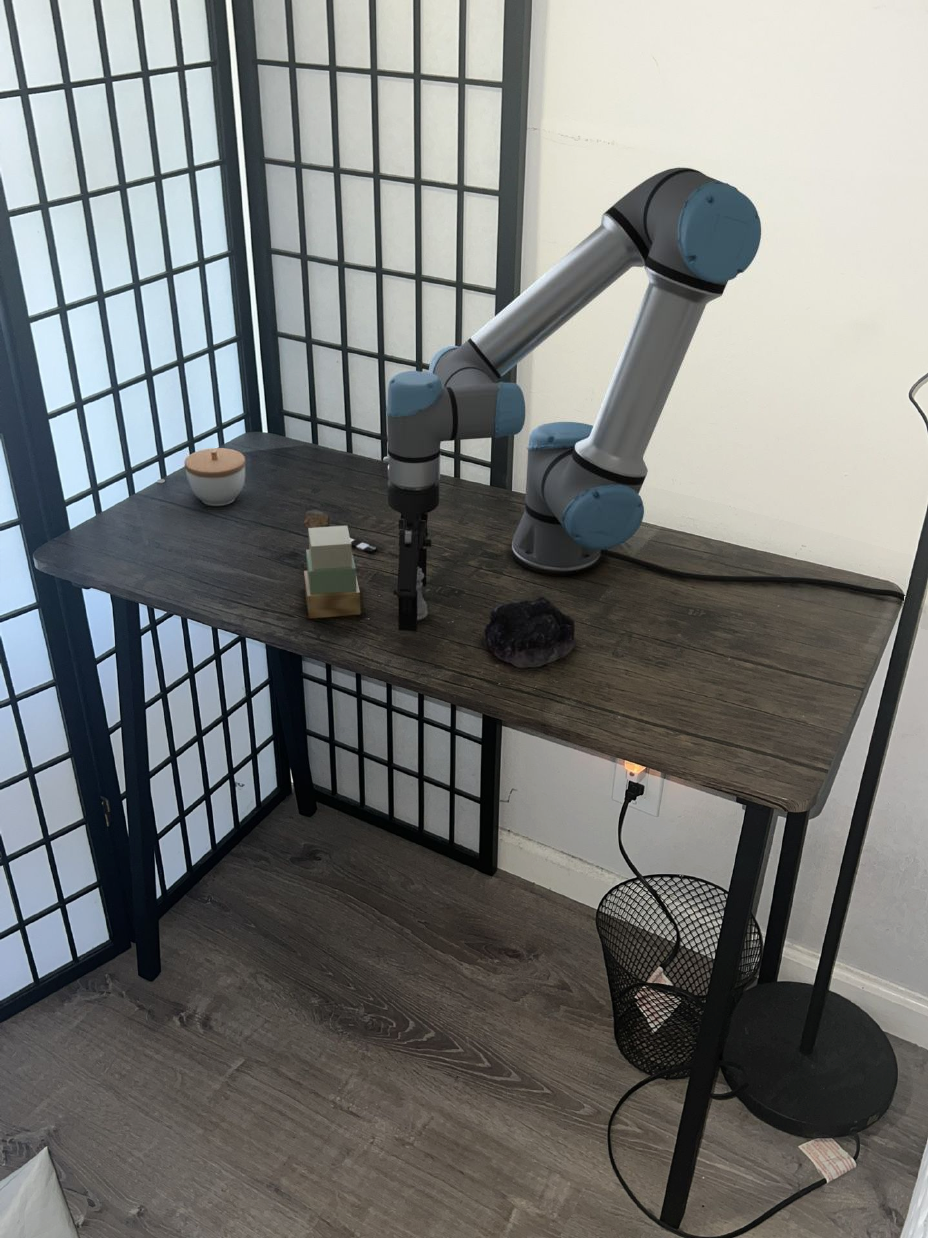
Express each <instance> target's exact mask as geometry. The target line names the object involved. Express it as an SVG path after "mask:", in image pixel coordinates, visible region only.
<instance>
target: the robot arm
mask: <svg viewBox="0 0 928 1238" xmlns="http://www.w3.org/2000/svg"><path fill="white" fill-rule="evenodd" d="M761 239H762V223H761V218H760V216H759V212H758V210H757V207H756V206H755V204H754V203H753V201H752V200H751V198H749V197H748V196H746V194H744V193H743V192H741V191H739V190H738V188H737V187H735V186H734V185H731V184H729V183H728V182H724V181H720V180H718V179H717V178H713V177H711V176H708V175H706V174H705V173H703V172H702V171H700V170H697V169H694V168H691V167H673V168H668V169H666V170H663V171H660V172H658V173H655V174H654V175H651V176H650V177H649V178H647V179H645V180H644V181H642V182H641V183H640V184H638V185H636V186H635V187H634V188H633V189H631V190H630V191H629V192H627V193H626V194H625V195H623V196H622V197H620V199H618V200H617V201H616V202H615V203H613V205H612V206H610V207H609V208H608V209H607V210H606V211H605V212H603V214H602V215H601V221H600V225H599V226H598V227H596V229H595V230H593V232H591V233H590V234H589V235H588V236H587V237H585V238H584V239H583V240H582V241H580V242H579V244H577V245H576V246H574V247H573V249H572V250H570V251H569V252H568V253H567V254H566V255H564V256H563V257H562V258H561V259H560V260H559V261H558V262H557V263H555V264H554V265H553V266H551V268H549V269H548V270H547V271H545V273H544V274H542V275H541V276H540V277H539V278H538V279H536V280H535V281H534V282H533V283H532V284H531V285H530V286H528V288H526V289H525V290H524V291H522V293H521V294H519V296H517V297H516V298H515V299H513V300H512V301H510V303H509V304H508V305H506V307H504V308H503V309H502V310H501V311H500V312H498V313H497V314H496V315H494V317H493V318H491V319H490V320H489V321H488V322H487V323H485V324H484V325H483V326H482V327H481V328H480V329H478V331H476V332H475V333H474V334H473V335H472V336H470V338H468V339H467V340H466V341H465V342H464V343H462V344H461V345H460V346H458V345H451V346H447V347H443V348H441V349H440V350H438V351H437V352H436V353H435V354H434V355H433V357H432V358H431V361H430V363H429V367H428V371H418V370H407V371H402V372H399V373H397V374H394V375H393V376H392V377H391V378H390V380H389V381H388V384H387V392H386V393H387V394H386V395H387V396H386V406H385V411H386V429H387V430H386V432H387V433H386V435H387V437H386V438H387V456H384V457H383V460H382V461H383V463H384V464H385V465H387V464H388V465H387V478H388V481H387V504H388V506H389V508H390V509H392V510H393V511H395V512H397V513H399V514H400V518H399V519H398V525H397V527H398V530H399V531H398V536H399V538H398V546H399V548H398V549H399V551H398V570H397V571H398V572H397V587H396V588H397V589H393V591H392V592H393V595H394V596H396V598H398V631H401V632H402V631H403V632H417V631H418V621H417V594H418V591H417V590H416V585H417V571H418V567H419V569H420V568H421V569H422V572H423V574H424V578H423V579H422V580H421V582H422V583H423V585H422V587H424V588H426V587H427V568H428V567H427V565H428V564H427V562H428V561H427V559H428V558H427V557H428V553H427V552H428V548H431V547H432V539H427V538H428V536H429V531H428V520H429V513H430V512H432V511H434V510H436V509H437V508H438V506H439V504H440V485H441V484H440V479H441V443H442V442H452V441H460V440H461V441H463V440H477V439H478V440H479V439H493V438H495V439H499V438H502V437H503V438H504V437H508V436H509V437H510V436H516V435H518V434H520V433H521V432H522V430H523V428H524V426H525V422H526V401H525V396H524V392H523V390H522V388H521V387H520V385H519V384H518V383H516V382H503V381H499V382H498V380H500V379H501V378H502V377H503V376H504V375H506V374H507V373H508V372H509V371H511V369H512V368H514V367H515V366H516V365H517V364H519V363H520V362H521V361H522V360H523V359H525V358H526V357H527V356H528V355H530V354H531V353H532V352H533V351H534V350H535V349H536V348H538V347H539V346H540V345H542V344H543V342H545V341H546V340H547V339H548V338H549V337H550V336H552V335H553V334H555V332H557V331H558V330H559V329H560V328H561V327H562V326H564V325H565V324H566V323H567V322H569V321H570V320H571V319H572V318H573V317H575V316H576V315H577V314H578V313H579V312H580V311H582V310H583V309H585V307H586V306H588V305H589V304H590V303H591V302H592V301H594V300H595V299H596V298H597V297H598V296H599V295H601V294H602V293H603V292H604V291H605V290H606V289H608V288H609V287H610V286H611V285H612V284H614V283H615V282H617V280H619V279H620V278H621V277H622V276H623V275H624V274H625V273H627V272H628V271H629V270H631V268H634V267H635V268H644V270H645V273H646V275H647V278H648V284H647V287H646V289H645V292H644V294H643V297H642V300H641V302H640V305H639V307H638V310H637V313H636V316H635V318H634V320H633V323H632V325H631V328H630V331H629V334H628V336H627V339H626V342H625V344H624V346H623V349H622V352H621V354H620V357H619V359H618V361H617V364H616V367H615V370H614V372H613V375H612V378H611V380H610V383H609V385H608V387H607V390H606V393H605V395H604V398H603V400H602V403H601V404H600V405H601V406H600V408H599V411H598V413H597V416H596V419H595V421H594V424H593V425H591V424H589V423H584V422H577V421H556V422H547V423H543V424H541V425H538V426H536V427H534V428H533V429H532V430H531V432H530V434H529V437H528V439H529V440H528V446H527V447H526V450H527V460H526V461H527V463H526V464H527V465H526V481H525V482H526V483H525V502H524V512H523V513H522V517H521V519H520V521H519V524H518V526H517V528H516V530H515V533H514V535H513V538H512V542H511V556H512V558H513V560H515V562H516V563H517V564H518V565H520V566H522V567H523V568H525V569H526V570H529V571H530V572H531V571H532V572H535V573H538V574H542V575H546V576H555V577H566V576H567V577H568V576H576V575H580V574H583V573H587V572H590V571H591V570H593V569H595V568H596V567H597V566H598V565H599V564H600V563H601V560H602V556H607V557H610V558H612V559H617V560H620V561H623V562H627V563H628V564H633V565H636V566H639V567H642V568H646V569H649V570H652V571H655V572H658V573H661V574H664V575H668V576H670V577H671V576H672V577H675V578H676V577H677V578H681V579H686V580H694V581H702V582H721V583H723V582H724V583H773V584H774V583H776V584H800V585H801V584H802V585H815V586H823V587H830V588H837V589H843V590H848V591H852V592H858V593H861V594H866V595H873V596H884V597H885V596H886V597H892V598H896V599H898V600H901V601H902V602H903V601H904V596H905V595H906V594H904V593H902V592H900V591H897V590H893V589H883V588H872V587H866V586H862V585H857V584H852V583H847V582H843V581H842V582H841V581H836V580H831V579H830V580H828V579H823V578H814V577H813V578H811V577H797V576H767V575H765V576H763V575H762V576H761V575H759V576H758V575H756V576H754V575H753V576H752V575H751V576H749V575H748V576H746V575H745V576H743V575H742V576H741V575H717V574H700V573H692V572H686V571H681V570H675V569H671V568H668V567H664V566H661V565H658V564H655V563H652V562H649V561H646V560H643V559H639V558H636V557H632V556H630V555H626V554H623V553H619V552H617V551H614V550H610V549H613V548H616V547H617V546H618V545H620V544H624V543H626V542H627V541H629V540H630V539H631V538H632V537H633V536H634V535H635V534H636V532H637V531H638V530H639V528H640V527H641V525H642V523H643V520H644V517H645V507H644V501H643V499H642V496H641V495H640V492H641V490H642V487H643V485H644V482H645V480H646V477H647V475H648V472H649V470H648V468H647V464H646V462H645V461H644V456H645V453H646V451H647V449H648V446H649V443H650V441H651V438H653V437H652V436H653V434H654V432H655V429H656V427H657V425H658V422H659V420H660V417H661V415H662V412H663V411H664V407H665V406H666V403H667V400H668V398H669V396H670V393H671V391H672V389H673V385H674V383H675V381H676V379H677V377H678V374H679V371H680V369H681V368H682V367H681V366H682V365H683V362H684V359H685V357H686V354H687V352H688V349H689V347H690V345H691V342H692V340H693V338H694V335H695V333H696V330H697V329H698V326H699V324H700V321H701V319H702V317H703V313H704V311H705V309H706V306H707V304H710V302H712V301H715V300H716V299H718V298H721V297H722V296H723V295H724V291H725V290H726V287H727V285H728V283H729V281H732V280H735V279H736V278H737V277H738V275H739V274H743V273H744V272H745V271H746V270H747V269H748V268H749V267H750V265H751V264H752V262H753V261H754V259H755V258H756V255H757V254H758V251H759V248H760V245H761Z"/></svg>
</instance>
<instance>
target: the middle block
mask: <svg viewBox="0 0 928 1238" xmlns="http://www.w3.org/2000/svg"><path fill="white" fill-rule="evenodd" d="M305 555H306V571H307V573H308V580H309V587H310V594H322V593H335V592H349V591H356V576H357V568H356V564H355V559H354V554H353V553H352V567H342V568H328V569H314V570H313V569H312V564H311V557H310V551H309V549H305Z"/></svg>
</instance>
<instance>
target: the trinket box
mask: <svg viewBox="0 0 928 1238" xmlns="http://www.w3.org/2000/svg"><path fill="white" fill-rule="evenodd" d="M184 468H185V473H186V474H185V475H186V479H187V483H188V485H189V488H190V490H191V492H192V493H193V494H194V495H195V496H196V497H197V498H198V499H199V500H201V501H202V503H203V504H205V505H207V506H212V507H219V506H220V507H221V506H226V505H229V504H231V503H234V501H235V500H236V498H237V497H238V496H239V495H240V493H241V492H242V490H243V489H244V486H245V481H246V456H244V454H243V453H242V452H240V451H238V450H235V449H232V448H224V447H212V448H211V447H210V448H204V449H201V450H197V451H195V452H192V453H191V454H189V455H188V456H187V457H186V458H185V460H184Z"/></svg>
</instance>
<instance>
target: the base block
mask: <svg viewBox="0 0 928 1238" xmlns="http://www.w3.org/2000/svg"><path fill="white" fill-rule="evenodd" d="M303 578H304V579H303V580H304V594H305V601H306V608H307V615H308V616H307V617H308V619H309V620H310V619H322V618H334V617H345V616H359V615H361V614H362V611H361V590H360V586H359V583H358V582H359V581H358V576H357V575H356V591H349V592H335V593H322V594H310V587H309V580H308V573H307V570H303Z"/></svg>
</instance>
